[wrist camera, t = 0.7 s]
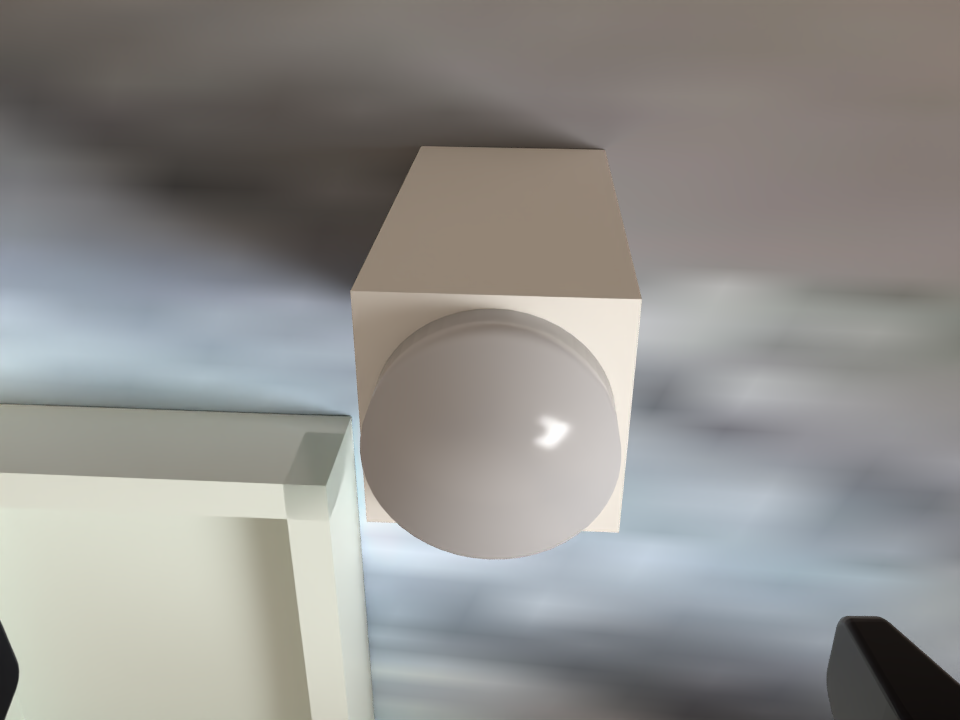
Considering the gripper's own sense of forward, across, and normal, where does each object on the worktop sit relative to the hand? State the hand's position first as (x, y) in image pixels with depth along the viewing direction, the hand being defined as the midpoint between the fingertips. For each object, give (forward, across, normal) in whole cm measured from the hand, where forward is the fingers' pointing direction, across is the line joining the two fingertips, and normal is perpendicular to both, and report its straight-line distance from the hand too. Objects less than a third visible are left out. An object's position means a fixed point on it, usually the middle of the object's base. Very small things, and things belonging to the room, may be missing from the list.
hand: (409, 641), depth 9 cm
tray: (+12, +10, +12) cm, 19 cm away
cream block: (+12, -1, 0) cm, 12 cm away
